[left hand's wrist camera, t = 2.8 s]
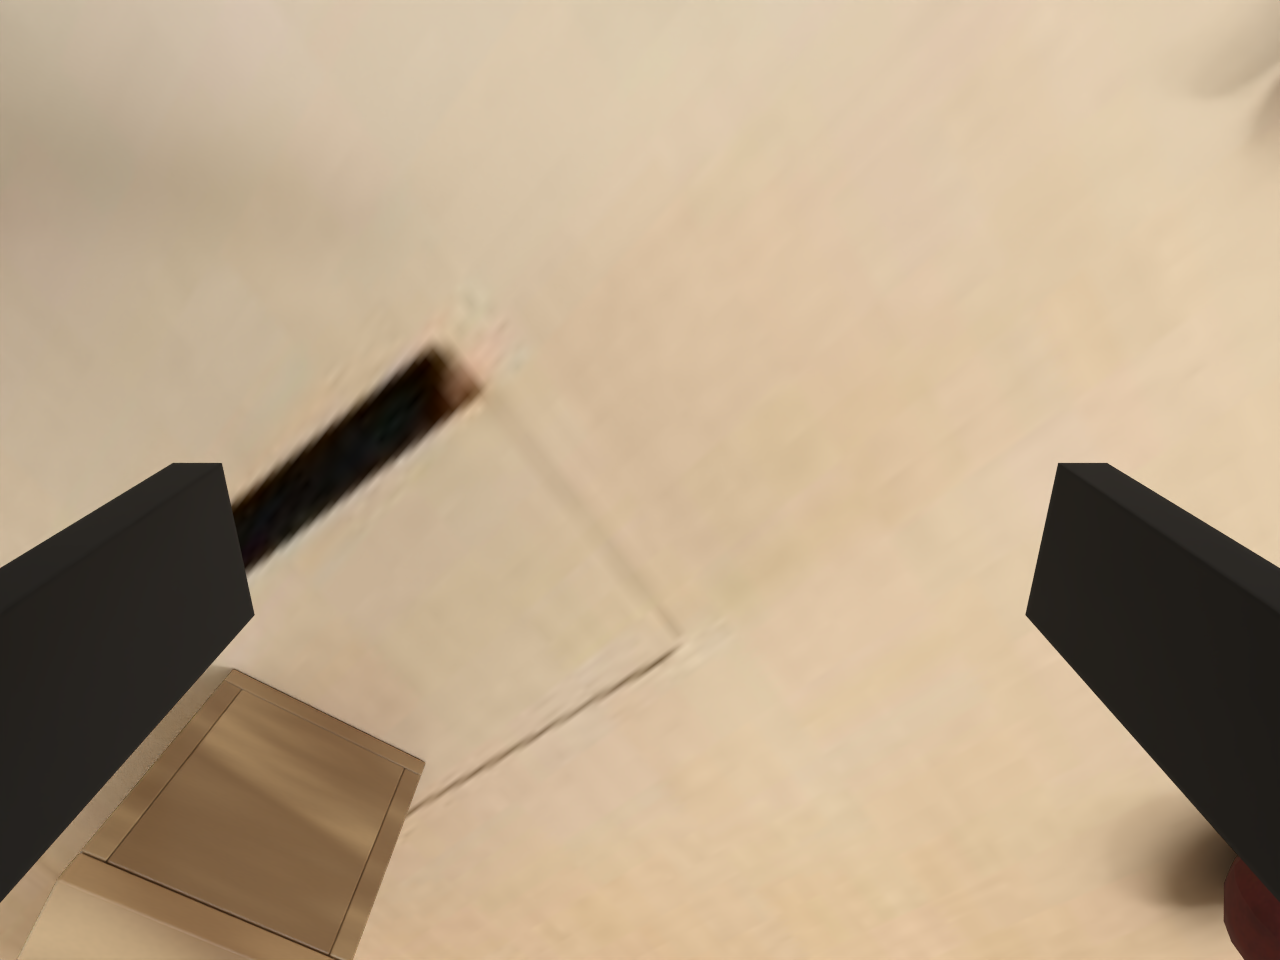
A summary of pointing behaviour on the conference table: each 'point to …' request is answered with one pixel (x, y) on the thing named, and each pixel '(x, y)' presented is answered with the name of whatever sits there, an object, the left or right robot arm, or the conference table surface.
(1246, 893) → the dark maroon ball
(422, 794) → the conference table surface
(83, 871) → the lid
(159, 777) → the chest
